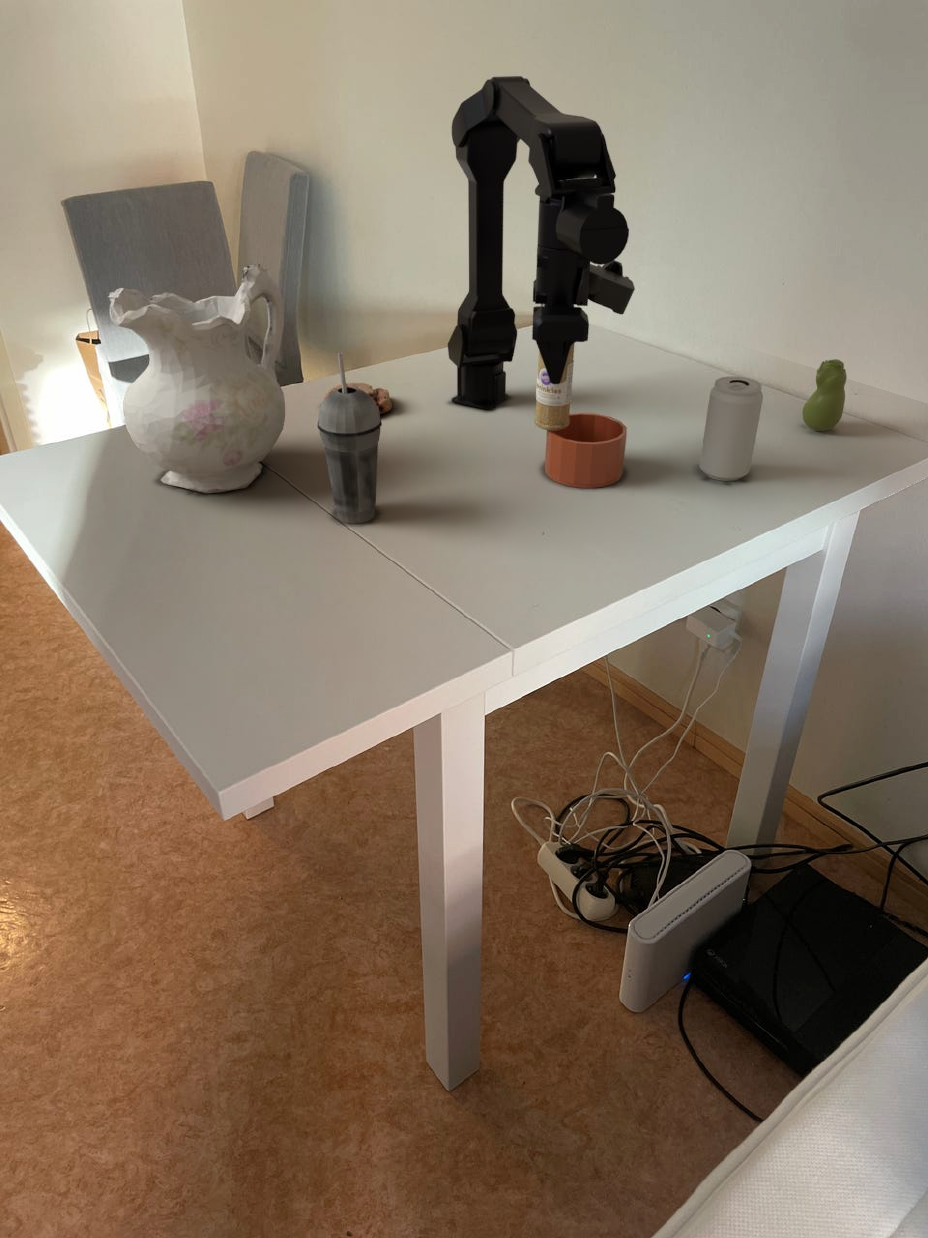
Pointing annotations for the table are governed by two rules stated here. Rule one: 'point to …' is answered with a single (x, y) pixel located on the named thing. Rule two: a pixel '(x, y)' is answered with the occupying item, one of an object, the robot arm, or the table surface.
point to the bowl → (586, 451)
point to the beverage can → (731, 428)
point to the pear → (826, 397)
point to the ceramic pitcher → (204, 384)
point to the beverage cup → (351, 449)
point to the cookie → (371, 395)
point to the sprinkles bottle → (554, 397)
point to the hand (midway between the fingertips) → (555, 376)
